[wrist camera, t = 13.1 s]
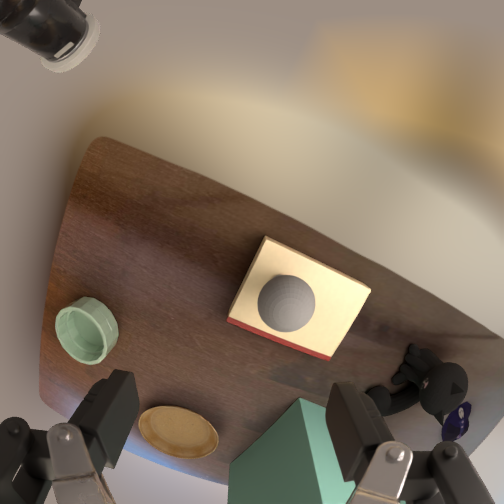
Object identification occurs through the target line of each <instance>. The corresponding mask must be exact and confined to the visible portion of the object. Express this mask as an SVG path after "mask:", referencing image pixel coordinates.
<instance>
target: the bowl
mask: <svg viewBox="0 0 504 504" xmlns="http://www.w3.org/2000/svg"><path fill="white" fill-rule="evenodd" d="M55 328H56V333H57V337H58V339H59V341H60V343H61V345H62V347H63V348H64V349H65V350H66V351H67V352H68V353H69V355H70V356H71V357H73V358H75V359H76V360H78V361H79V362H81V363H85V364H90V365H91V364H96V363H100V362H101V361H102V360H103V359H104V358H105V357H106V355H107V354H108V353H109V352H110V351H111V349H112V348H113V347H114V346H115V345H116V343H117V339H118V336H119V333H118V325H117V322H116V320H115V318H114V316H113V314H112V312H111V311H110V310H109V309H108V308H107V307H106V306H105V305H104V304H103V303H102V302H100V301H98V300H96V299H95V298H90V297H82V298H79V299H76V300H75V301H73V302H72V303H70V304H69V305H67V306H66V307H64V308H63V309H62V310H61V311H60V312H59V314H58V315H57V317H56V323H55Z"/></svg>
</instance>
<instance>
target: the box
mask: <svg viewBox="0 0 504 504" xmlns="http://www.w3.org/2000/svg"><path fill="white" fill-rule="evenodd" d="M325 413H326V408H324V407H322V406H319V405H317V404H314V403H312V402H309V401H307V400H305V399H302V398H300V397H299V398H298V399H297V400H296V401H295V402H294V403H293V404H292V405H291V406H290V408H289V409H288V410H287V411H286V412H285V413H284V414H283V415H282V416H281V417H280V418H279V419H278V420H277V421H276V422H275V423H274V424H273V425H272V426H271V427H270V428H269V429H268V430H267V431H266V432H265V433H264V434H263V435H262V436H261V437H259V438H258V439H257V440H256V441H255V442H254V443H253V444H252V445H251V446H250V447H249V448H248V449H247V450H245V451H244V452H243V453H242V454H241V455H240V456H239V457H238V458H236V459H235V460H234V461H233V462H232V463H231V464H230V471H229V487H228V504H345V503H346V502H347V500H348V498H349V497H350V495H351V493H352V491H353V490H354V488H355V486H356V485H355V482H354V481H349V482H344V480H343V477H342V473H341V470H340V467H339V463H338V460H337V457H336V454H335V451H334V447H333V444H332V441H331V438H330V435H329V431H328V428H327V425H326V420H325ZM400 504H406V502H405V501H400Z"/></svg>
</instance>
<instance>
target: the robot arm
mask: <svg viewBox="0 0 504 504" xmlns="http://www.w3.org/2000/svg"><path fill="white" fill-rule="evenodd" d="M81 1H82V0H0V34H2V35H3V36H5V37H7V38H9V39H11V40H13V41H15V42H17V43H18V44H21V45H22V46H24V47H26V48H28V49H30V50H31V51H33V52H35V53H36V54H38V55H40V56H42V57H43V58H45V59H46V60H47V61H49V62H52V63H56V62H60V61H62V60H64V59H66V58H68V57H69V56H71V55H72V54H73V53H74V52H75V51H76V50H77V49H78V48H79V47H80V46H81V44H82V43H83V41H84V40H85V38H86V36H87V33H88V29H89V24H88V22H87V20H86V16H87V15H86V14H85V13H84V12H82V10H81V9H79V6H80V3H81ZM138 411H139V397H138V393H137V388H136V383H135V378H134V374H133V373H132V372H128V371H122V370H117V369H115V370H114V371H113V372H112V373H111V375H110V376H109V378H108V379H101V380H100V381H98V382H97V383H95V384H94V385H93V386H92V388H91V389H90V390H89V392H88V394H87V395H86V396H85V398H84V400H83V401H82V402H81V403H80V405H79V406H78V408H77V409H76V411H75V412H74V414H73V415H72V417H71V418H70V420H69V421H68V423H59V424H56V425H54V426H52V427H51V428H50V429H49V431H43V430H35V429H30V427H29V425H28V424H27V422H26V421H25V420H24V419H22V418H19V417H11V418H7V419H6V420H4V421H3V422H2V423H1V424H0V504H44V501H45V499H46V497H47V494H48V492H49V490H50V488H51V486H53V490H54V493H55V497H56V500H57V503H58V504H116V503H115V501H114V498H113V497H112V494H111V492H110V490H109V488H108V486H107V483H106V481H105V479H104V476H103V474H102V471H103V468H104V466H105V467H109V468H112V469H114V468H115V466H116V463H117V461H118V459H119V456H120V454H121V451H122V449H123V447H124V444H125V442H126V440H127V437H128V435H129V433H130V430H131V428H132V426H133V423H134V421H135V419H136V417H137V414H138ZM325 420H326V425H327V428H328V431H329V435H330V438H331V441H332V444H333V447H334V451H335V454H336V457H337V460H338V463H339V467H340V470H341V473H342V477H343V480H344V482H349V481H354V482H355V485H356V486H355V488H354V490H353V491H352V493H351V495H350V497H349V498H348V500H347V502H346V503H345V504H400V501H405V502H406V504H495V502H494V501H493V499H492V497H491V495H490V493H489V492H488V490H487V488H486V486H485V484H484V483H483V481H482V479H481V478H480V476H479V474H478V472H477V471H476V469H475V468H474V466H473V464H472V463H471V461H470V459H469V457H468V456H467V454H466V453H465V451H464V449H463V448H462V447H461V446H460V445H459V444H457V443H455V442H452V441H443V442H440V443H438V444H437V445H436V446H435V447H434V449H433V450H432V451H411V449H410V448H409V447H408V446H407V445H406V444H404V443H402V442H398V441H395V440H394V438H393V436H392V434H391V432H390V430H389V428H388V427H387V425H386V423H385V421H384V419H383V417H382V416H381V414H380V412H379V410H377V406H376V405H375V403H374V401H373V399H372V398H370V397H369V396H368V395H367V394H365V393H364V392H362V393H358V391H357V389H356V387H355V385H354V384H353V382H342V383H334V384H333V386H332V389H331V393H330V396H329V400H328V404H327V408H326V413H325ZM20 465H21V467H20V469H19V471H18V473H17V475H16V477H15V478H14V480H13V477H14V475H15V474H16V472H17V470H18V468H19V466H20ZM12 480H13V482H12Z"/></svg>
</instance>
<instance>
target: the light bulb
mask: <svg viewBox="0 0 504 504" xmlns="http://www.w3.org/2000/svg"><path fill="white" fill-rule="evenodd" d="M257 306H258V312H259V315H260V317H261V319H262V321H263V322H264V323H265V324H266V325H267V326H269V327H270V328H271V329H274V330H276V331H279V332H293V331H296V330H298V329H300V328H302V327H303V326H305V325H306V324H307V323H308V322H309V321H310V319H311V318H312V316H313V313H314V310H315V296H314V293H313V291H312V289H311V287H310V286H309V285H308V284H307V283H306V282H305V281H304V280H303V279H301V278H299V277H296V276H293V275H276V276H274V277H273V278H272V279H271V280H269V281H268V282H267V283H266V284H265V285H264V286H263V288H262V289H261V291H260V293H259V296H258V302H257Z"/></svg>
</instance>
